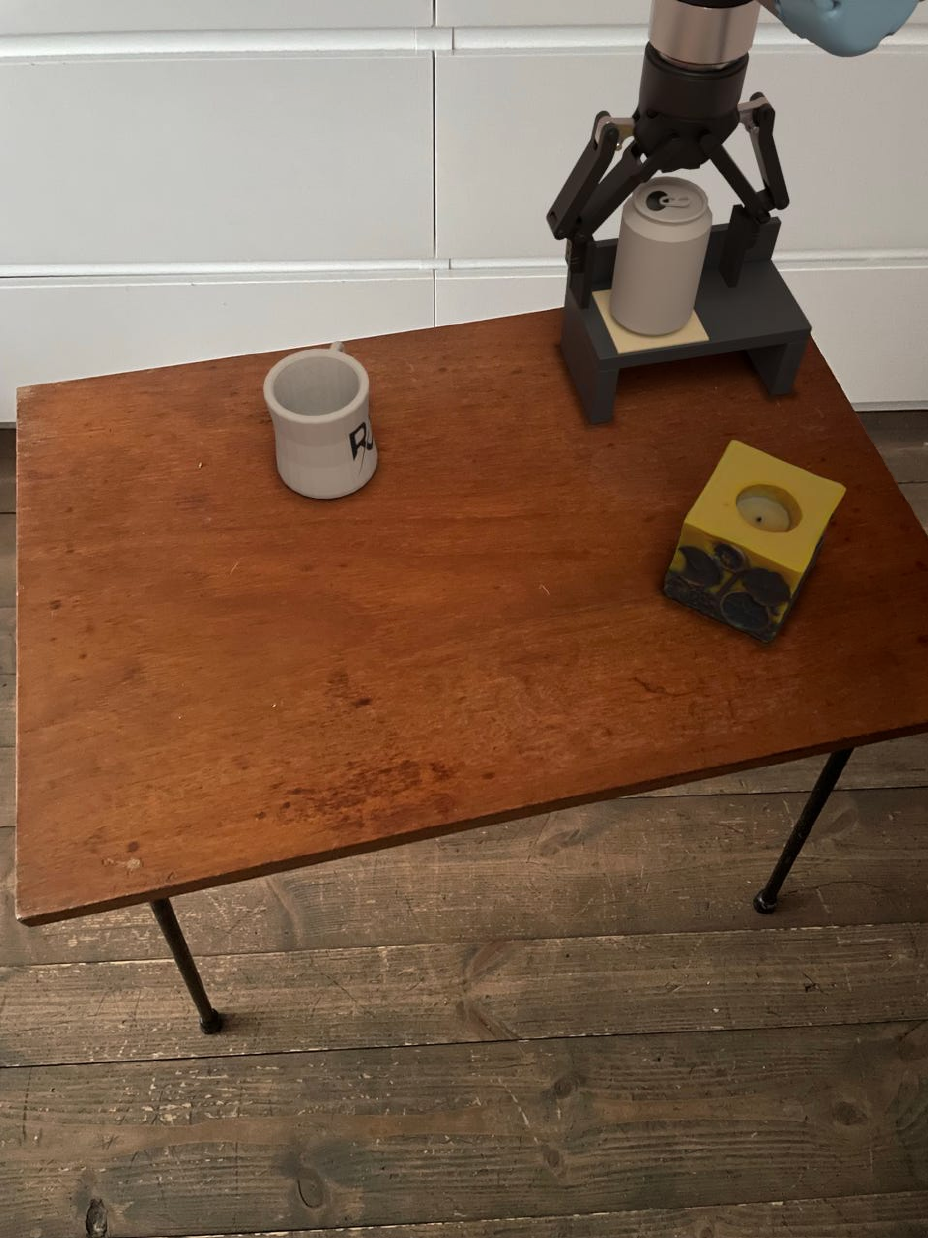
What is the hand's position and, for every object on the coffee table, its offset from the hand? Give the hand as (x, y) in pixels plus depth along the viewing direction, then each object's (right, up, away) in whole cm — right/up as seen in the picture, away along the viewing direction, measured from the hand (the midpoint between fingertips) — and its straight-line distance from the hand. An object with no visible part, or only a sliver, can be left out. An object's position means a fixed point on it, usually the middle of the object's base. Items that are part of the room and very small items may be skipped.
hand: (654, 288), depth 94 cm
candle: (+6, -26, -4) cm, 27 cm away
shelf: (+4, -5, +10) cm, 12 cm away
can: (0, -2, +3) cm, 3 cm away
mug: (-29, -14, +4) cm, 32 cm away
